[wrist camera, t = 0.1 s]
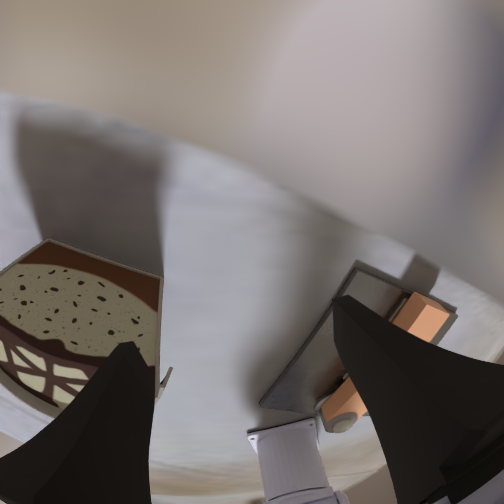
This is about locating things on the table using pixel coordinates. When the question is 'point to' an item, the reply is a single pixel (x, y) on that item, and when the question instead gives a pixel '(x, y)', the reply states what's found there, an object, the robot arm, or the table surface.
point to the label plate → (324, 350)
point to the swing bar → (346, 396)
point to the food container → (72, 322)
